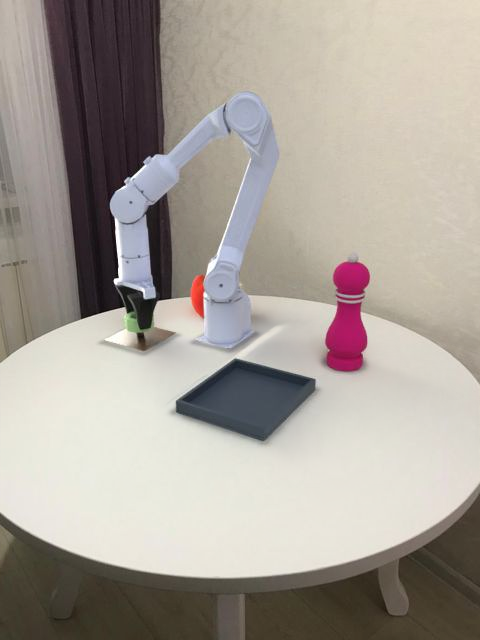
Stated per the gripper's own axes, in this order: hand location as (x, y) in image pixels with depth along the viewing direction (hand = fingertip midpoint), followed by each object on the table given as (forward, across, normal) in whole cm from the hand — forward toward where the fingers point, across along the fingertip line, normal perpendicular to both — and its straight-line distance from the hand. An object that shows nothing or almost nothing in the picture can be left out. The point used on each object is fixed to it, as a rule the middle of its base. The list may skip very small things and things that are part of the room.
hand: (139, 323), depth 113 cm
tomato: (+4, -4, +18) cm, 19 cm away
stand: (+3, 0, 0) cm, 3 cm away
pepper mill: (+4, +28, +28) cm, 39 cm away
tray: (+3, +31, +6) cm, 32 cm away
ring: (+1, 0, 0) cm, 1 cm away
